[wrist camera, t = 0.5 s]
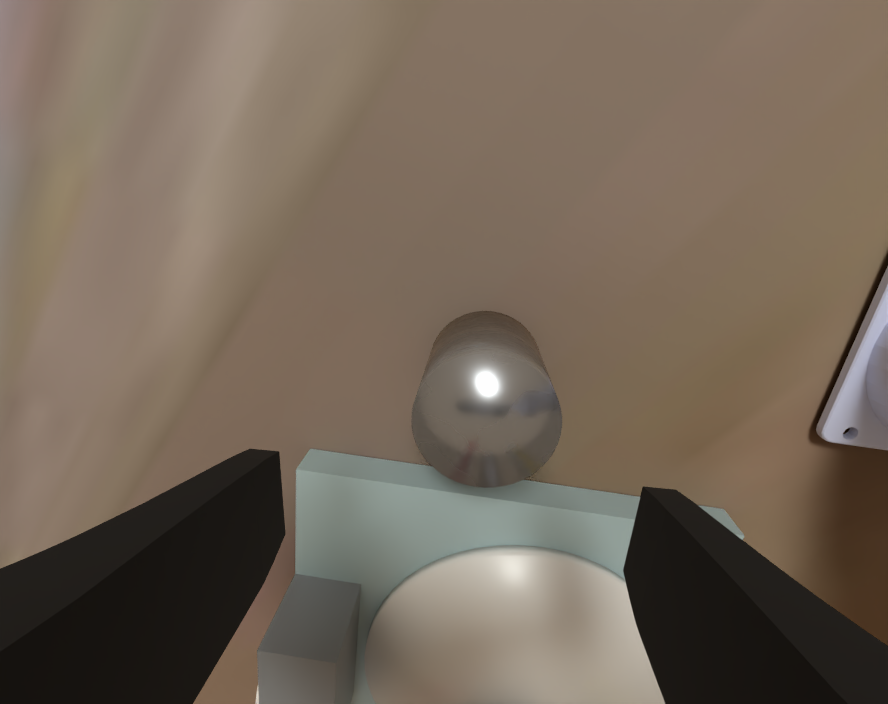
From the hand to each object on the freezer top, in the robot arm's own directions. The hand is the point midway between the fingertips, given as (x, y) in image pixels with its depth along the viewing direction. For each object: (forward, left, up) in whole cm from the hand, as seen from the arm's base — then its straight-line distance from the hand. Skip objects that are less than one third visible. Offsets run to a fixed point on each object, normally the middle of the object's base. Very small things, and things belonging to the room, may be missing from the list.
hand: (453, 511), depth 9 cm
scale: (-3, +14, -9) cm, 17 cm away
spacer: (-1, 0, -9) cm, 9 cm away
